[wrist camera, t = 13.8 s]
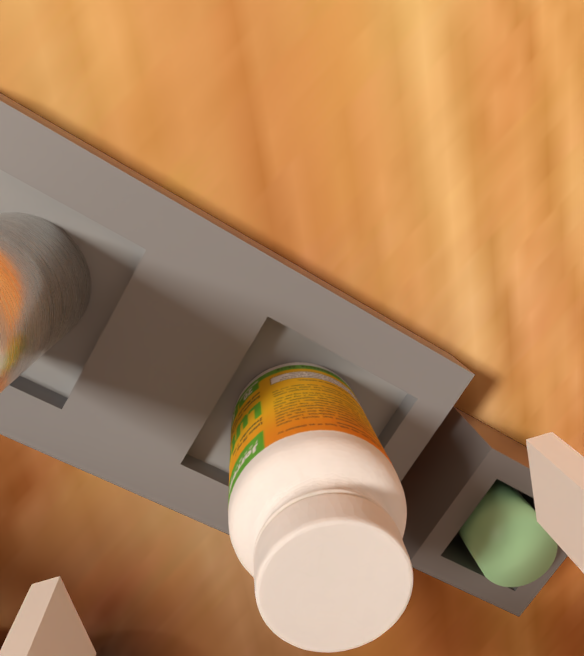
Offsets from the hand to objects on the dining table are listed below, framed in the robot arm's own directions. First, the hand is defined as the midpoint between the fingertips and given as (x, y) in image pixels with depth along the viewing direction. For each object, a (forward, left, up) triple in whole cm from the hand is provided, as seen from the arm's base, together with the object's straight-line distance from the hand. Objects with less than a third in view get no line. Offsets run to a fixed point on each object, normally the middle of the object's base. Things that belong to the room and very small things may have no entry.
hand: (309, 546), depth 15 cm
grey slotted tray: (-6, 0, -10) cm, 11 cm away
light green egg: (+10, +1, -9) cm, 13 cm away
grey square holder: (+10, +1, -10) cm, 14 cm away
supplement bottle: (0, 0, -8) cm, 8 cm away
